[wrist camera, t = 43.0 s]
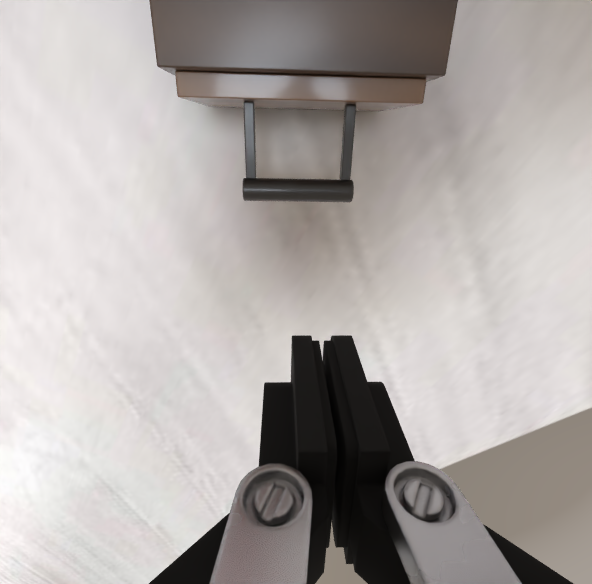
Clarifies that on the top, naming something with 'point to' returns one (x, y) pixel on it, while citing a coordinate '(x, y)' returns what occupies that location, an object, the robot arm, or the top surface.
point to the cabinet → (305, 36)
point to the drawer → (299, 95)
